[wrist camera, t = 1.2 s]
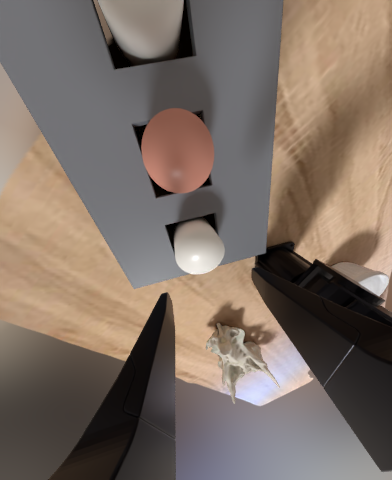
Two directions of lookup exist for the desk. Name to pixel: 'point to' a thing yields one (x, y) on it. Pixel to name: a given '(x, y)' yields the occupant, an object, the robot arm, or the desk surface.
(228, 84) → the housing
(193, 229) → the knob
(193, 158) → the knob middle
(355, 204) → the desk surface
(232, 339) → the skull
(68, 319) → the desk surface
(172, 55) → the knob
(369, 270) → the ramekin
